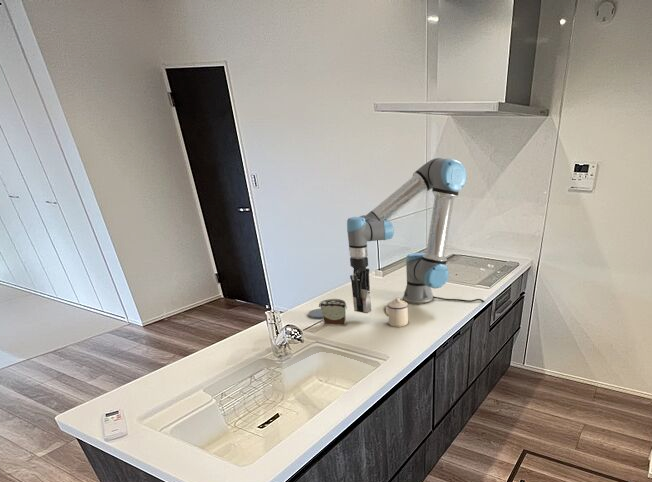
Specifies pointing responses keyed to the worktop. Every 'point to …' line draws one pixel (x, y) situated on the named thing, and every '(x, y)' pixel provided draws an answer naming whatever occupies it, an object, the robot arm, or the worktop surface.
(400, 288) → the worktop surface
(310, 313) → the saucer
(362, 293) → the tea bag
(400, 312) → the teacup with lid
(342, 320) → the food container
